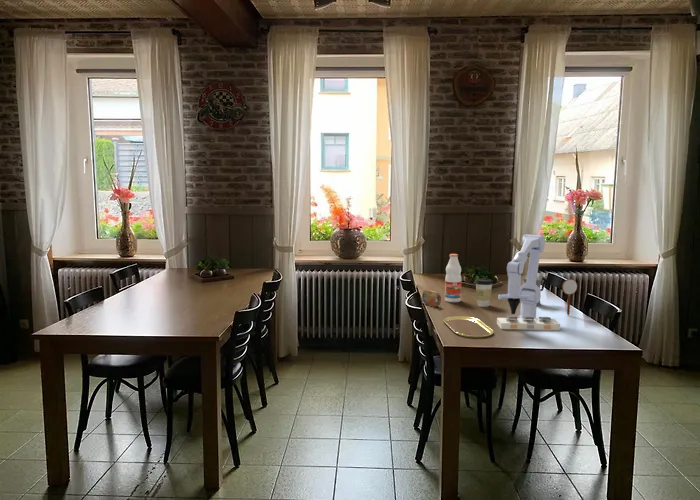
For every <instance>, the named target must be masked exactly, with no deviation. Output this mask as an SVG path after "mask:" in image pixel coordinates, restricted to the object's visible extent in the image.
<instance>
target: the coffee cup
mask: <svg viewBox="0 0 700 500" xmlns="http://www.w3.org/2000/svg"><path fill="white" fill-rule="evenodd" d="M474 284H475V292H476V300H477V301H476V302H477V306H478V307H481V308H488V307H489V306H490V300H491V295H492V290H493V288H492V287H493V284H494V283H493V280H492V279H490V278H477V279H476V281H475V282H474Z"/></svg>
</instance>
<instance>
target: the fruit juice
mask: <svg viewBox="0 0 700 500" xmlns="http://www.w3.org/2000/svg"><path fill="white" fill-rule="evenodd" d="M458 257H459V254H457V253H450V254H449V260H448V263H447V265H446V267H445V273H446V274H445V278H444V279H445V280H444V281H445V282H444V301H446V302H448V303H459V302H461V300H462V275H461V272H462V267H461V265H460V262H459V259H458Z"/></svg>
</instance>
